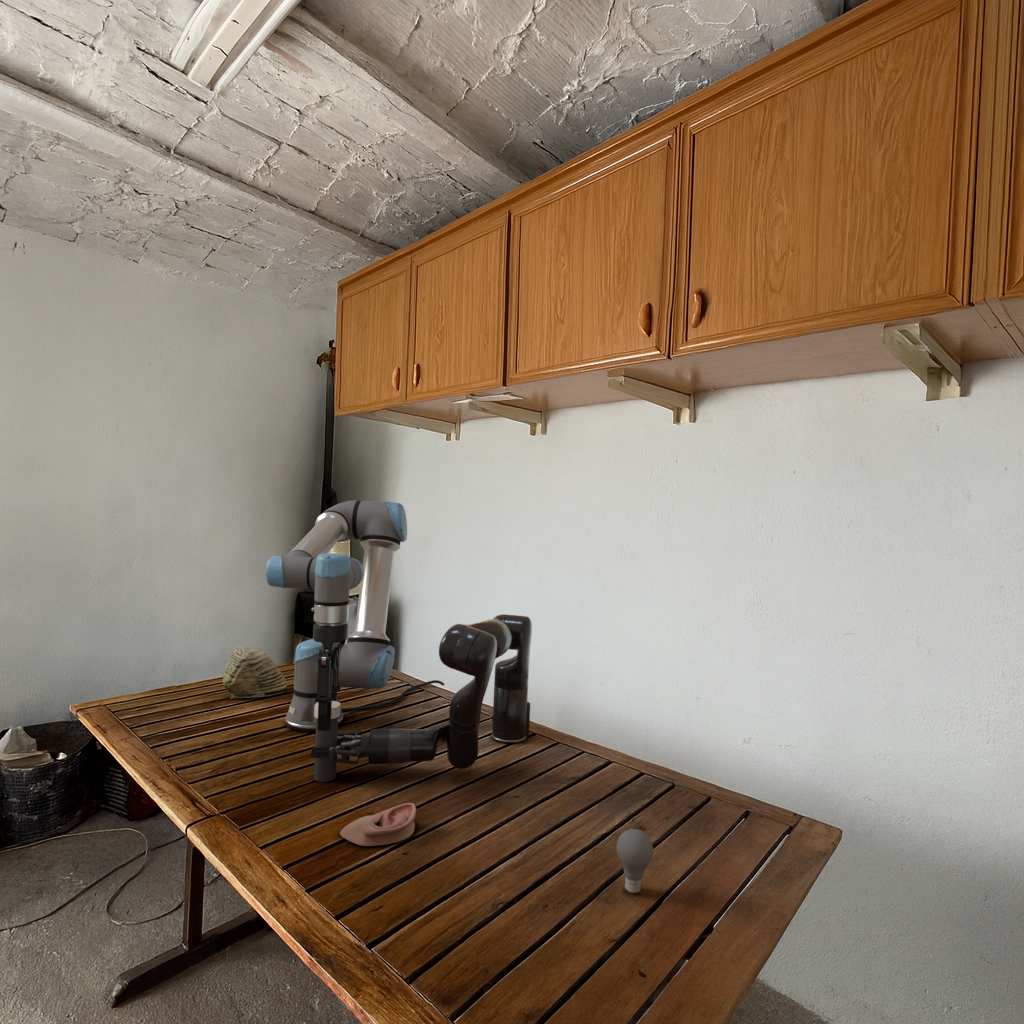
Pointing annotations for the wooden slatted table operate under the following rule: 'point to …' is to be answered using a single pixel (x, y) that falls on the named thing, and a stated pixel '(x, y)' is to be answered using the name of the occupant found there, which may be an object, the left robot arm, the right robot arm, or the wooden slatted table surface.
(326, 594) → the left robot arm
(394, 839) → the anatomical model
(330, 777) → the gray bottle
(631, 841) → the light bulb
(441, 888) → the wooden slatted table surface
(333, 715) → the lid
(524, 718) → the right robot arm
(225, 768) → the wooden slatted table surface
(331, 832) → the wooden slatted table surface
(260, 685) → the fossil
